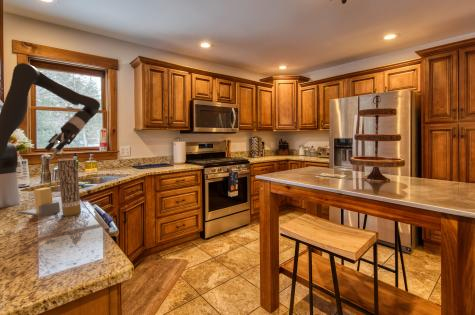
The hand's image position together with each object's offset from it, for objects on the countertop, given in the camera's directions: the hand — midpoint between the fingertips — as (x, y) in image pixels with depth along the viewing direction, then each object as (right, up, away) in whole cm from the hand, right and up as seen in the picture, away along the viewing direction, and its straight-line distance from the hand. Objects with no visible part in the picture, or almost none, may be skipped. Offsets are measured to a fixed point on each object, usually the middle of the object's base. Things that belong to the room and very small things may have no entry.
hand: (52, 149), depth 121 cm
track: (0, -29, -7) cm, 30 cm away
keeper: (+4, -29, -9) cm, 31 cm away
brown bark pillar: (+17, -29, -11) cm, 36 cm away
